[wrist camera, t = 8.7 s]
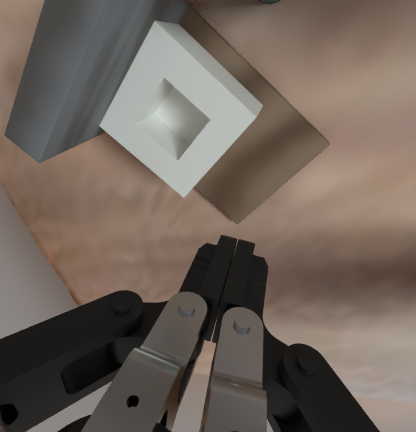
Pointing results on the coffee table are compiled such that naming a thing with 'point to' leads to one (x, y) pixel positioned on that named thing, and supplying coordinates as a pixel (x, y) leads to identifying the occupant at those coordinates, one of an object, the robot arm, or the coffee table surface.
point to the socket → (178, 108)
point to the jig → (113, 77)
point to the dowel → (269, 1)
